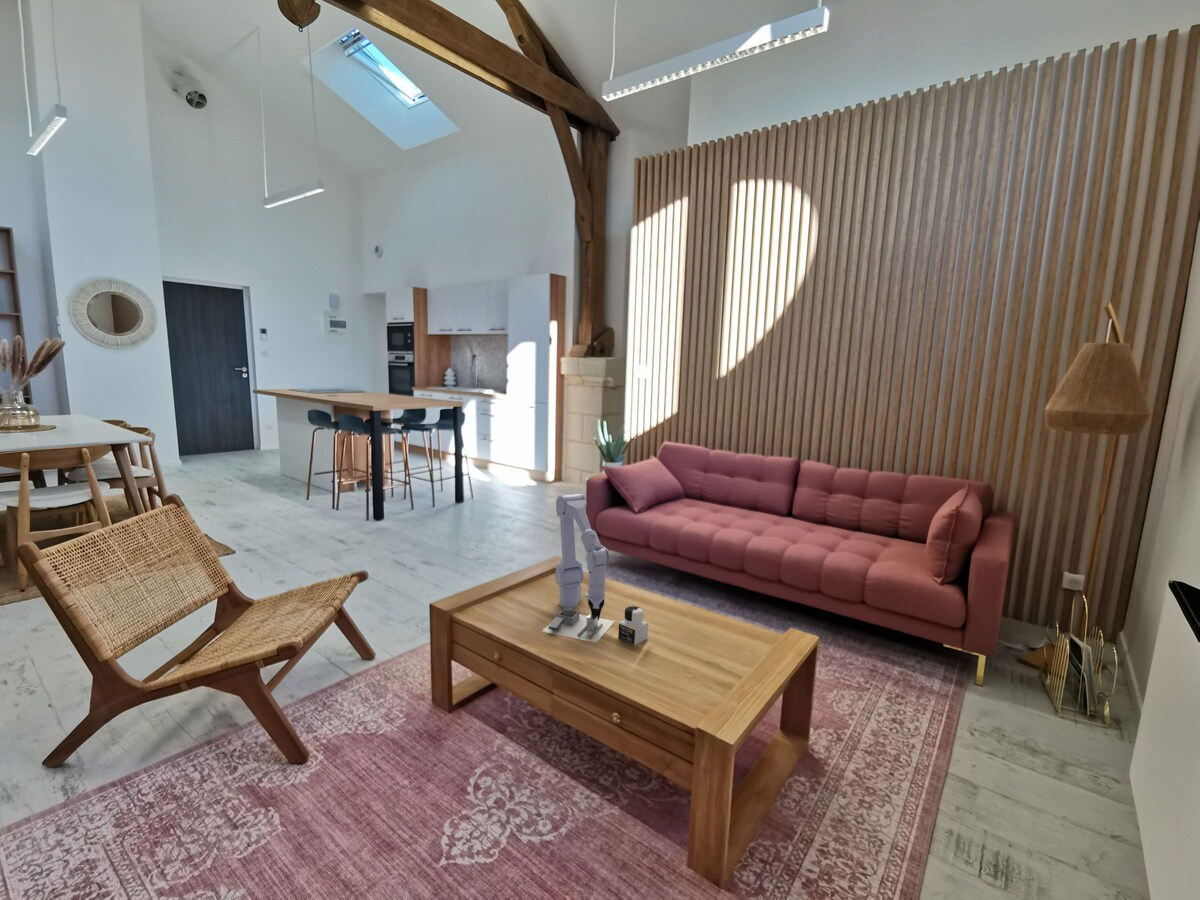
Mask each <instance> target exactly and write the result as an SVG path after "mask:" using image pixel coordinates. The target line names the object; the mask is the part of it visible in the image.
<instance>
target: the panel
mask: <svg viewBox="0 0 1200 900" xmlns="http://www.w3.org/2000/svg"><path fill="white" fill-rule="evenodd" d="M588 616H589V615H585V614H580V611H579V610H575V609H574V616H573V617H569V616H564V615H563V609H562V610H561V611H560V612H559V613H558V614H556V617H560V618H564V621H563V623H562V624H561V625H560V627H559V628H558V629H557V631H556V630H551V629H549V627H548V626H549V625H550V624H551V622H550V623H549V624H548V625H547V626H546V627H545V628H544V629H542V631H541V633H547V634H553V635H556V636H563V637H566V638H567V637H568V638H571V639H576V640H581V641H584V642H585V641H586V642H591V643H595V644H596V643H598V642H599V640H601V638H602V637H603V636H604V634H605V633H606V632H607V631H608V630H609V629H610V628H611V626H612V625H613V624H614V622H615V620H611V619H605V618H601V617H600V618H599V621H598V627H597V628H596V629H595V630H590V629H586V623H587V617H588Z"/></svg>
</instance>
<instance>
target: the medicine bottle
mask: <svg viewBox="0 0 1200 900" xmlns="http://www.w3.org/2000/svg"><path fill="white" fill-rule="evenodd" d="M643 618H644V610H643V609H642V607H638V606H636V605H635V606H633V605H632V606H627V607H626V608H625V609H624V620H621V621H619V622H618V633H617V635H618V637H617V639H619V640H621V641H623V642H626V643H628V644H630V645H632V646H636V645H638V644H640V643H642V642H644V641H646V640H647V639H648V633H649V623H648V622H647V621H644V619H643ZM645 643H648V641H646V642H645Z"/></svg>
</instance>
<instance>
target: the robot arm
mask: <svg viewBox="0 0 1200 900" xmlns="http://www.w3.org/2000/svg"><path fill="white" fill-rule="evenodd" d="M555 501H556V502H555V505H556V506H555V509H556V516H557V517H559V520H560V521H559V523H560V525H559V526H560V541H561V543H560V544H561V556H562V557H561V558H562V560H560V561H559V563H557V564H556V565H555V574H554V579H555V582H556V585H557V586H559V599H558V600H559V601H558V603H559V606H560V607H562V608H566V607H571V608H577V606H578V605H579V603H580V602H581V601H582V593H583V592H582V590H583V589H582V586H581V583H583V581H584V579H585V573H584V569H583V565H582V563H581V562H580V561H579V560H577V558H576V555H577V554H576V542H575V541H576V540H575V539H576V538H575V525H574V521H575V522H576V524H577V527H578V528H579V530H580V532H581V536H580V540H581V543H582V545H583V547H584V549H585V553H586V555H585V560H586V565H587V566H586V568H587V570H588V587H587V589H588V590H587V593H584V598H588V599H587V604H588V606H589V610H590V612H591V615H596V616H598V621H599V618H601V612H602V609H603V607H604V606H605V599H606V593H605V591H606V565H608V564H609V562H610V554H609V550H608V549H607V548H606V547H605V546H604V545H603V544H601V541H600V539H599V536H598V533H597V532H596V530H594V529H592V527H591V524H590V521H589V518H588V515H587V512H586V510H587V503H588V502H587V499H586V496H585V494H584V493H576V494H560V495H558V496H557V498H556V500H555Z"/></svg>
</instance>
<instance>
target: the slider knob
mask: <svg viewBox="0 0 1200 900" xmlns="http://www.w3.org/2000/svg"><path fill="white" fill-rule="evenodd" d="M587 616H588V617H587V623H586V629H590V630H595V629H596V628H597V627H598V616H596V615H592V614H589V615H587Z"/></svg>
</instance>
